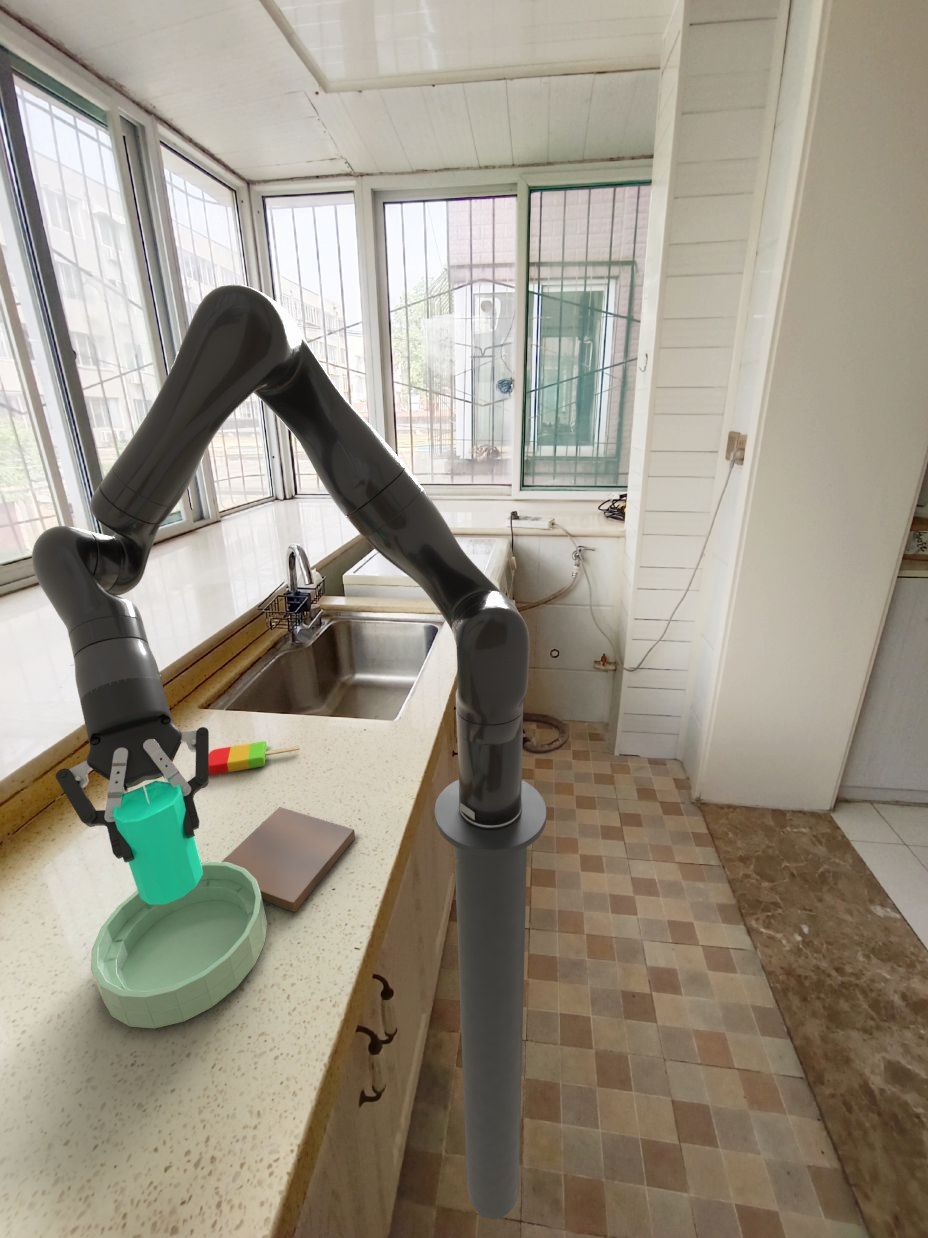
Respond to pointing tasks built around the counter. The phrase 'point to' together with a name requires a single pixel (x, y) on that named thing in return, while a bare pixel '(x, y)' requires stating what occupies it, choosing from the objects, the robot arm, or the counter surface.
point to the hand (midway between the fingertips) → (161, 847)
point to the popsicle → (241, 757)
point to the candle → (158, 842)
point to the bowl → (180, 949)
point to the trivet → (291, 855)
